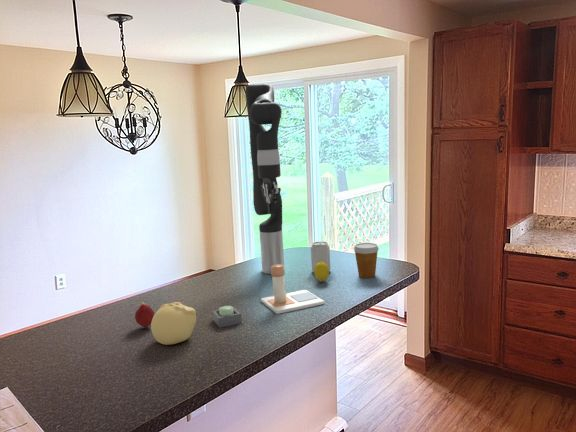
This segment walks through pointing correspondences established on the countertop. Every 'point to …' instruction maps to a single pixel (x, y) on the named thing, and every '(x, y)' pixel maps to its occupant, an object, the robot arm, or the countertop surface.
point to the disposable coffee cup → (366, 259)
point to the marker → (278, 283)
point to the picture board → (293, 301)
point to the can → (320, 254)
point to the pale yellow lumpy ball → (173, 323)
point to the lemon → (321, 271)
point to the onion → (144, 315)
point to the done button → (226, 311)
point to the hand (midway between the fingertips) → (272, 213)
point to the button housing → (227, 318)
